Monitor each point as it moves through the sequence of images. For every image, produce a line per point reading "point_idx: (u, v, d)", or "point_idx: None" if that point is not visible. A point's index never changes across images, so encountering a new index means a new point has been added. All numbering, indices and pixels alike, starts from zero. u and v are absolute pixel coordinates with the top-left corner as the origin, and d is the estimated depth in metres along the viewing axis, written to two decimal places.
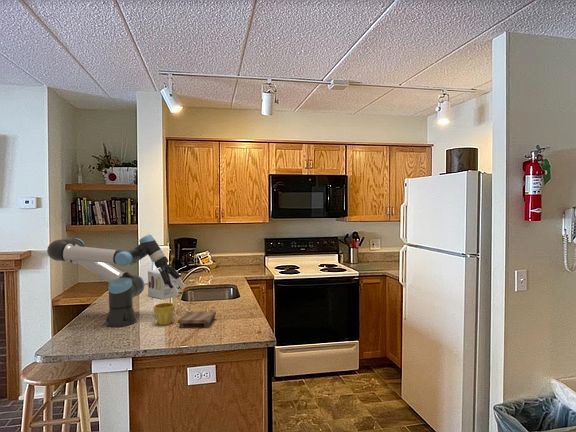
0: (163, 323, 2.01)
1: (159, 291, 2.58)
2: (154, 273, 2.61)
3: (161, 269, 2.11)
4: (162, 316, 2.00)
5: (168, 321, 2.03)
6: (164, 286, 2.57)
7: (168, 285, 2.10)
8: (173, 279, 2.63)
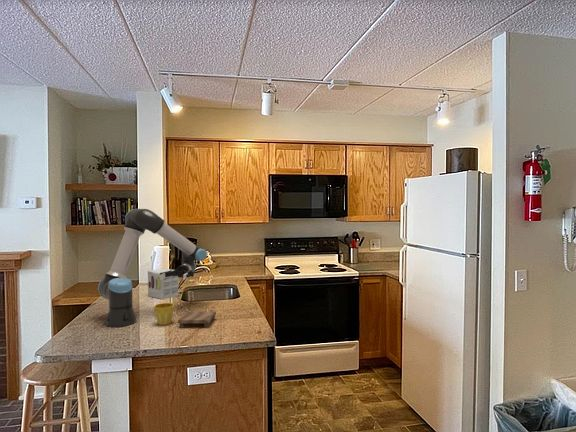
0: (163, 323, 2.01)
1: (159, 291, 2.58)
2: (154, 273, 2.61)
3: None
4: (162, 316, 2.00)
5: (168, 321, 2.03)
6: (164, 286, 2.57)
7: (189, 274, 2.23)
8: (173, 279, 2.63)
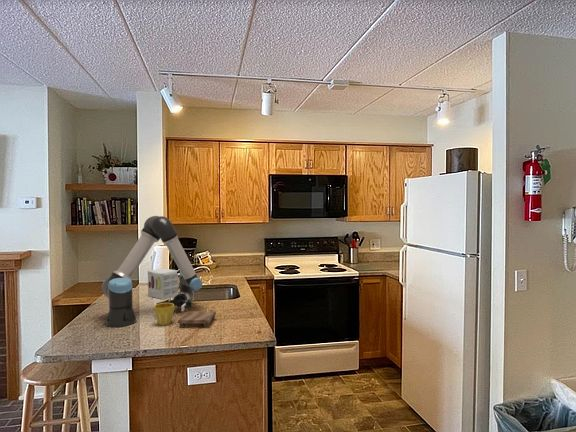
0: (163, 323, 2.01)
1: (159, 291, 2.58)
2: (154, 273, 2.61)
3: None
4: (162, 316, 2.00)
5: (168, 321, 2.03)
6: (164, 286, 2.57)
7: (187, 305, 2.16)
8: (173, 279, 2.63)
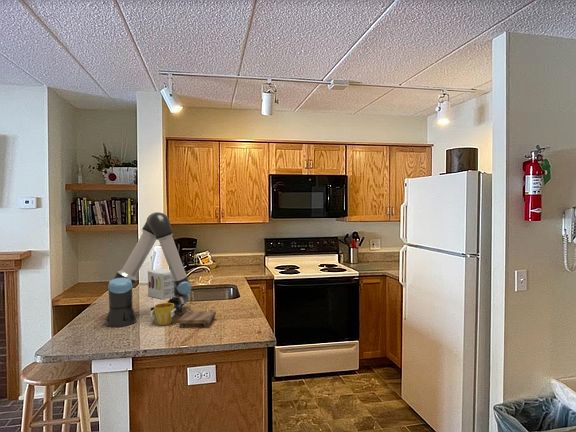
0: (163, 323, 2.01)
1: (159, 291, 2.58)
2: (154, 273, 2.61)
3: (183, 307, 2.15)
4: (162, 316, 2.00)
5: (168, 321, 2.03)
6: (164, 286, 2.57)
7: (177, 310, 2.05)
8: None
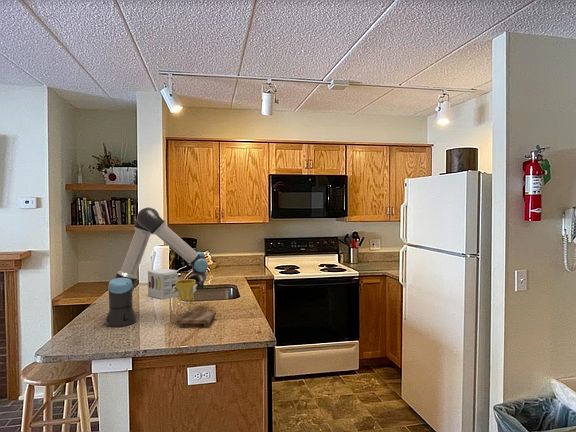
0: (185, 299, 2.01)
1: (159, 291, 2.58)
2: (154, 273, 2.61)
3: (203, 284, 2.16)
4: (184, 292, 2.00)
5: (190, 297, 2.03)
6: (164, 286, 2.57)
7: (199, 286, 2.06)
8: (173, 279, 2.63)
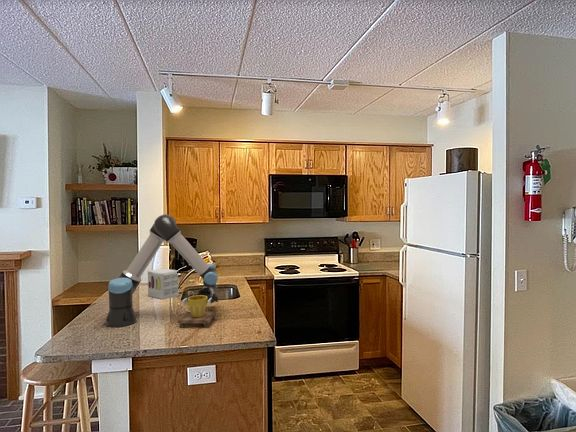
0: (197, 315, 2.01)
1: (159, 291, 2.58)
2: (154, 273, 2.61)
3: None
4: (196, 309, 2.00)
5: (202, 313, 2.02)
6: (164, 286, 2.57)
7: (213, 299, 2.06)
8: (173, 279, 2.63)
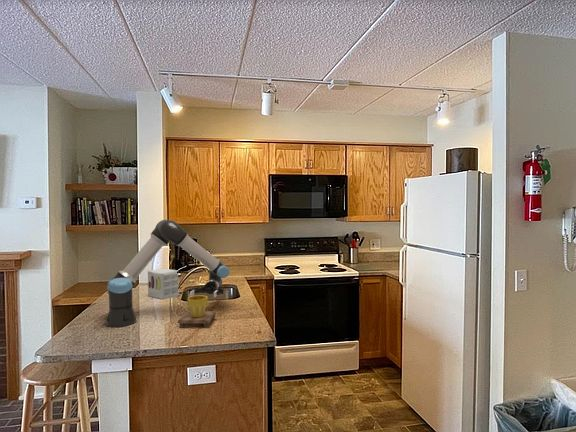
0: (197, 315, 2.01)
1: (159, 291, 2.58)
2: (154, 273, 2.61)
3: None
4: (196, 309, 2.00)
5: (202, 313, 2.02)
6: (164, 286, 2.57)
7: (219, 291, 2.19)
8: (173, 279, 2.63)
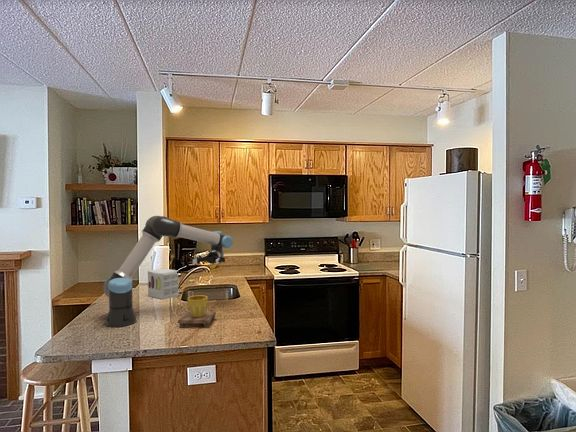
0: (197, 315, 2.01)
1: (159, 291, 2.58)
2: (154, 273, 2.61)
3: None
4: (196, 309, 2.00)
5: (202, 313, 2.02)
6: (164, 286, 2.57)
7: (221, 259, 2.26)
8: (173, 279, 2.63)
